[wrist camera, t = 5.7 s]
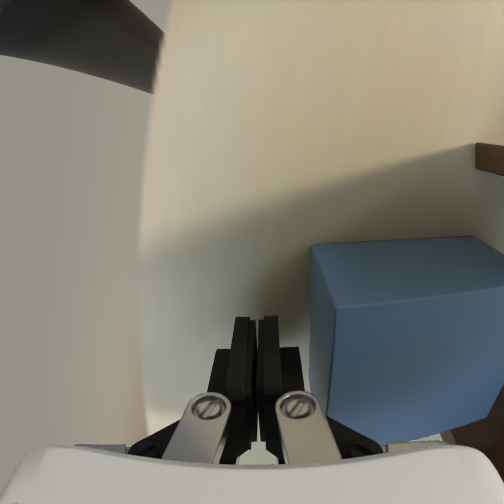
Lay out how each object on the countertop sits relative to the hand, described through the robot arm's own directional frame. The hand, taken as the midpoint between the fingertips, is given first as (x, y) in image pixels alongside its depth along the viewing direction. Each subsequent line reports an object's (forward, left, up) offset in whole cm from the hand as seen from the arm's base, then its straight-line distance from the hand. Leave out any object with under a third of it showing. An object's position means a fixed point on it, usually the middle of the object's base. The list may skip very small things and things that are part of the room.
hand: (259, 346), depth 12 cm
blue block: (+6, 0, -2) cm, 6 cm away
